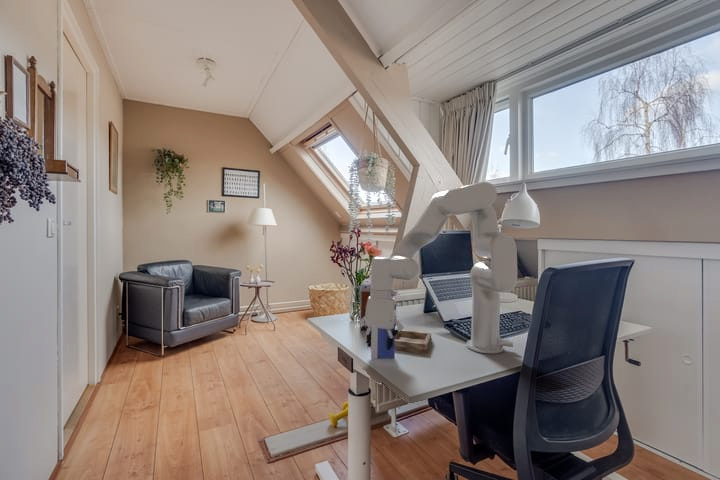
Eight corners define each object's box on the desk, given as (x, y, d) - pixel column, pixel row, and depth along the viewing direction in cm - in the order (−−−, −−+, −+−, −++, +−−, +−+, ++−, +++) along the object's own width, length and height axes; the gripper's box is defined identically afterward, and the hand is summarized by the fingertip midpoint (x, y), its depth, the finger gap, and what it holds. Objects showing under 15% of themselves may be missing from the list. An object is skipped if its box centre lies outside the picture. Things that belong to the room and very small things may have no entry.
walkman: (392, 355, 114) (393, 320, 114) (394, 358, 112) (395, 322, 111) (370, 355, 113) (370, 320, 113) (371, 359, 111) (371, 323, 110)
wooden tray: (431, 341, 129) (432, 332, 129) (426, 354, 116) (427, 344, 115) (396, 336, 133) (396, 328, 133) (387, 348, 120) (387, 339, 120)
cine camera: (380, 318, 159) (381, 277, 158) (378, 331, 140) (379, 284, 139) (361, 318, 160) (361, 276, 159) (356, 330, 140) (357, 283, 140)
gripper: (409, 294, 112) (407, 347, 113) (360, 289, 118) (359, 340, 119) (404, 298, 105) (402, 355, 106) (353, 293, 111) (351, 347, 112)
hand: (379, 346), depth 112 cm, fingers closed on walkman, 6 cm apart
